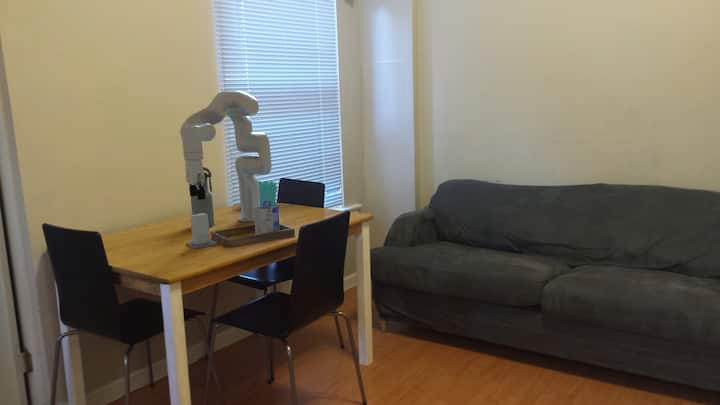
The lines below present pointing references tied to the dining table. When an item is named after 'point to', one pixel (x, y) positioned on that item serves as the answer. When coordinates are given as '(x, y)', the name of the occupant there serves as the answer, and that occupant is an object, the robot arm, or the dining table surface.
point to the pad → (195, 246)
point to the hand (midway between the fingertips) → (197, 197)
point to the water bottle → (204, 201)
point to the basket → (267, 192)
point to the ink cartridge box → (266, 218)
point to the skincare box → (200, 228)
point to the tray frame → (221, 234)
